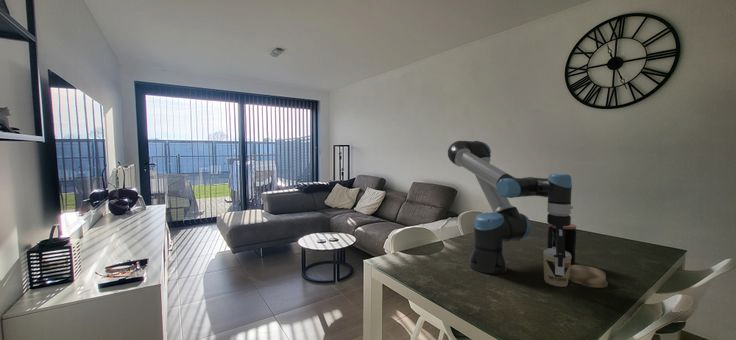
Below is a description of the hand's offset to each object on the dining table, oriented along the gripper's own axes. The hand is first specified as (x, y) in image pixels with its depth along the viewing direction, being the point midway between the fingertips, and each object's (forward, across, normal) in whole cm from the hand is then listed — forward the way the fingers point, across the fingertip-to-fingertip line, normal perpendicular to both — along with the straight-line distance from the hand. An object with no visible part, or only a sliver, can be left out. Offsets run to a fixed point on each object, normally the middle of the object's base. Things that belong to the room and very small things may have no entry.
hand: (557, 268), depth 112 cm
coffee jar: (+6, +25, -4) cm, 26 cm away
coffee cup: (+6, 0, 0) cm, 6 cm away
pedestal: (+6, +8, -11) cm, 15 cm away
